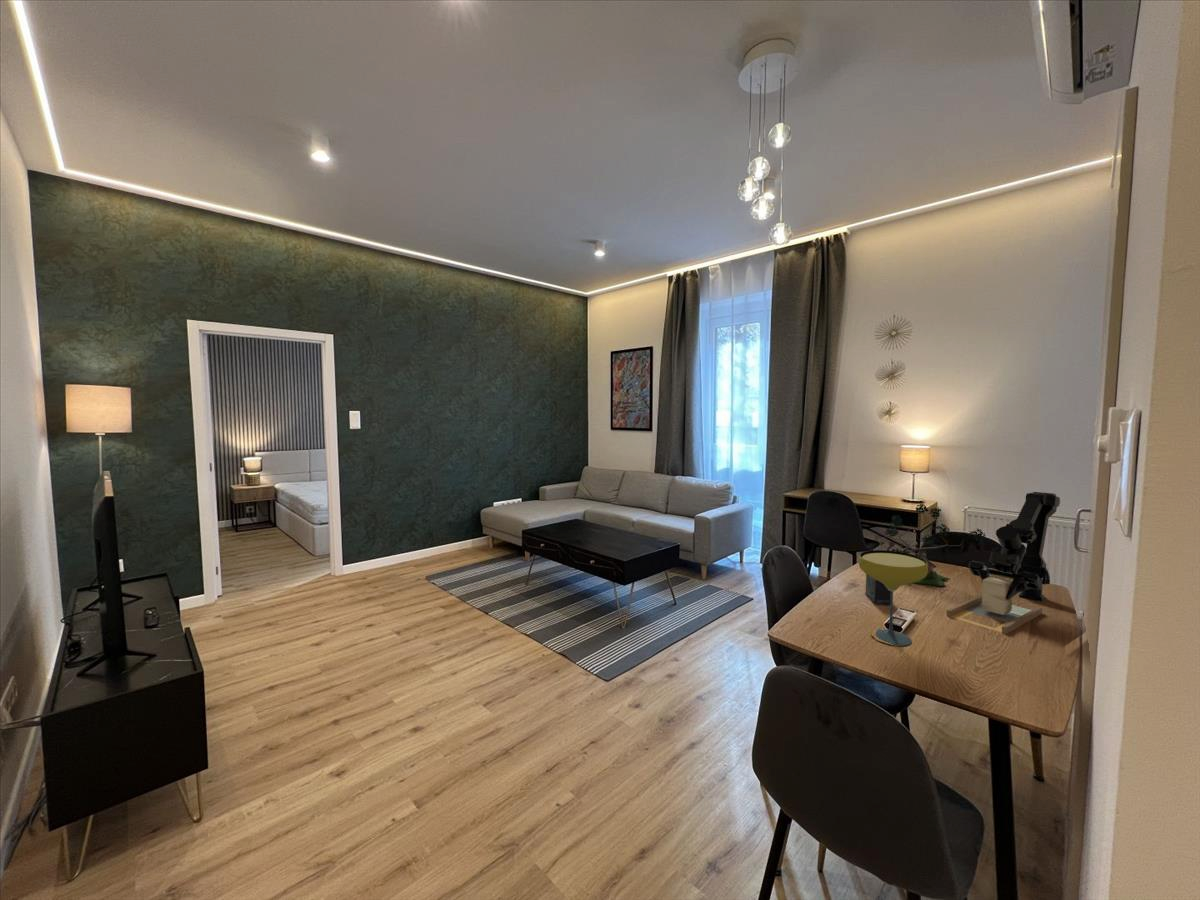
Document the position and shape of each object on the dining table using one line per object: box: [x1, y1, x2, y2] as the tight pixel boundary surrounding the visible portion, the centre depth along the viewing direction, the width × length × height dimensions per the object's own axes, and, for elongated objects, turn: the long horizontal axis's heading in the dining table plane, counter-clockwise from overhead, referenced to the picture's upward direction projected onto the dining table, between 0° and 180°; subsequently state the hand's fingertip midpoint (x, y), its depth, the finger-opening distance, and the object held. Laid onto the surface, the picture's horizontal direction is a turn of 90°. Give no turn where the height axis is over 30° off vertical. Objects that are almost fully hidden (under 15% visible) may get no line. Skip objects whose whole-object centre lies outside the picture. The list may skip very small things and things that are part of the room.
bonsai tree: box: [881, 503, 987, 588], centre depth 194 cm, size 35×24×32 cm
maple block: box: [981, 575, 1013, 615], centre depth 162 cm, size 6×6×10 cm
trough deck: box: [946, 593, 1043, 635], centre depth 161 cm, size 27×16×4 cm, turn 121°
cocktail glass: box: [858, 549, 928, 647], centre depth 149 cm, size 18×18×25 cm
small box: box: [864, 573, 891, 606], centre depth 180 cm, size 11×6×10 cm, turn 168°
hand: (995, 595), depth 161 cm, fingers closed on maple block, 6 cm apart
